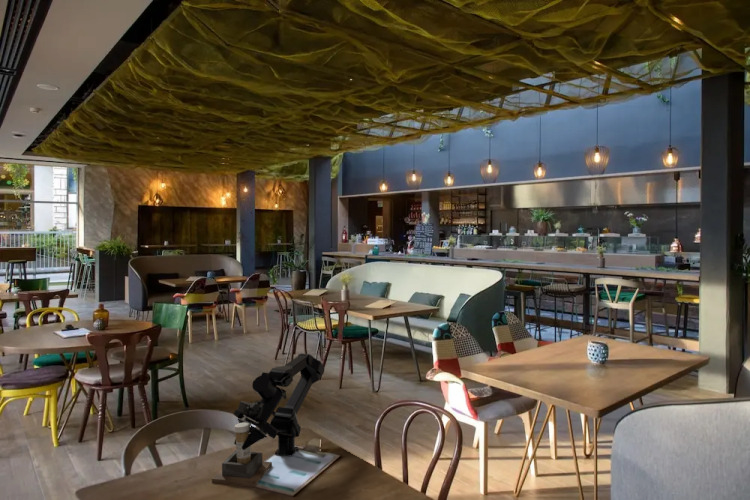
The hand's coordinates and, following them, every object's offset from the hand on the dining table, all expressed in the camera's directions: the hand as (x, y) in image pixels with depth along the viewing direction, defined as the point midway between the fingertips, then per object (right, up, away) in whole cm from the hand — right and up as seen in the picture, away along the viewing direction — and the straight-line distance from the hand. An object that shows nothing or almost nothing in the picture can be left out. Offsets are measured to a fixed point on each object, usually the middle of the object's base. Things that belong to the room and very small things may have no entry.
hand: (238, 446), depth 165 cm
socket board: (+1, -9, +1) cm, 9 cm away
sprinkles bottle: (+2, -7, +1) cm, 7 cm away
